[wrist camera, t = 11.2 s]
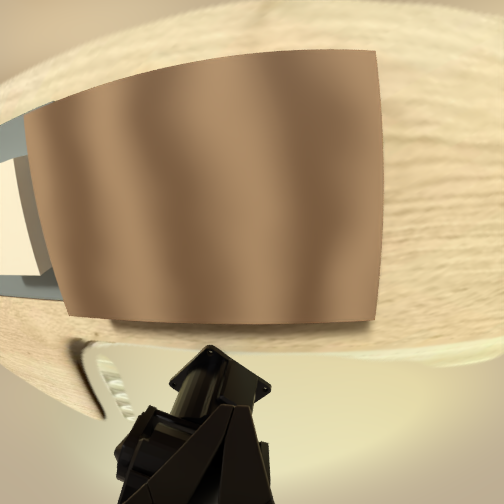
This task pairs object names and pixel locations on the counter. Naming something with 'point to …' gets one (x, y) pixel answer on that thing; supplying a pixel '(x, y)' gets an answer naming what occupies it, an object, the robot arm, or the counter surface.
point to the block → (217, 191)
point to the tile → (20, 222)
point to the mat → (45, 286)
